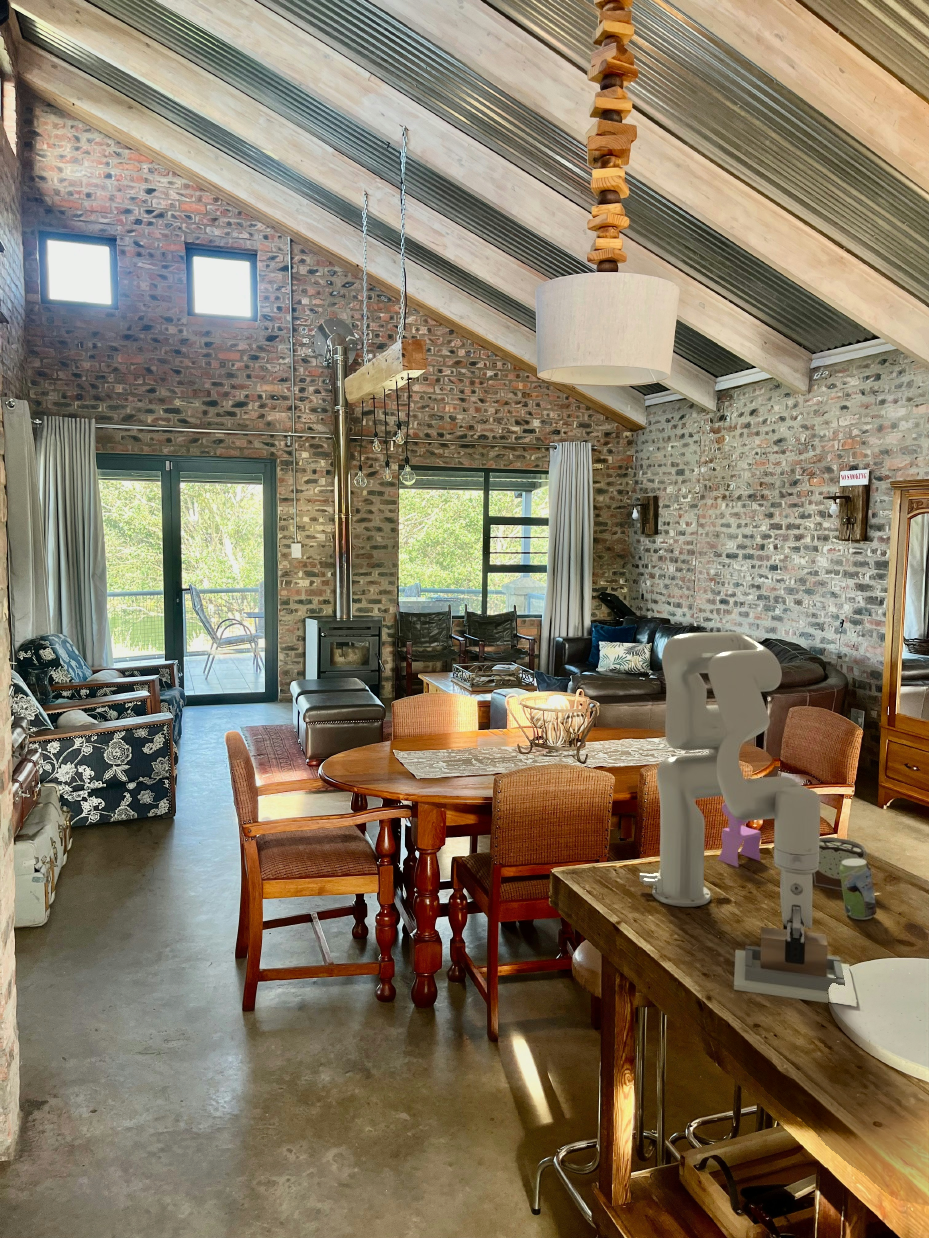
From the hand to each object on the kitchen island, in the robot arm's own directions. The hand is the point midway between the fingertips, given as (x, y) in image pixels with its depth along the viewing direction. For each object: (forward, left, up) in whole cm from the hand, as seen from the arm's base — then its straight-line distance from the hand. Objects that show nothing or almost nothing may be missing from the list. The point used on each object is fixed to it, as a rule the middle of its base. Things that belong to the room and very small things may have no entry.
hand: (793, 950), depth 162 cm
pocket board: (0, 0, -5) cm, 5 cm away
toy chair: (-10, +61, -6) cm, 62 cm away
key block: (0, 0, -4) cm, 4 cm away
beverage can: (+14, +33, -6) cm, 36 cm away
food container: (+12, +51, -6) cm, 53 cm away
